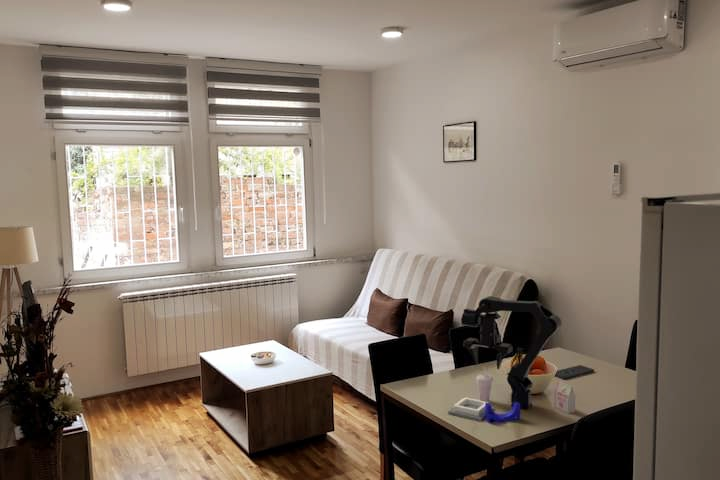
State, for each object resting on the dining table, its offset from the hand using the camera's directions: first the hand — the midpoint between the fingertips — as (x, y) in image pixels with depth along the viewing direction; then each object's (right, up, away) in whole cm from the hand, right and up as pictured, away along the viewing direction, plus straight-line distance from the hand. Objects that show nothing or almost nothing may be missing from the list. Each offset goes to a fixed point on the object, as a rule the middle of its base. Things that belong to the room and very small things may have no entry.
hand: (487, 366), depth 236 cm
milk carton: (+27, -14, -11) cm, 32 cm away
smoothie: (-1, -13, -1) cm, 14 cm away
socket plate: (-9, -14, -12) cm, 21 cm away
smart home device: (+45, -10, +30) cm, 55 cm away
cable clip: (+1, -16, -20) cm, 25 cm away
